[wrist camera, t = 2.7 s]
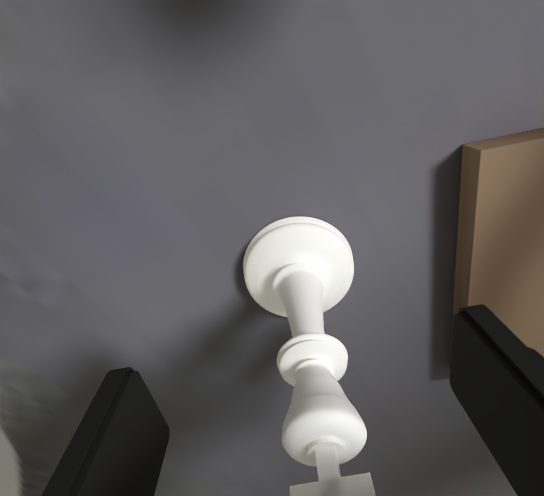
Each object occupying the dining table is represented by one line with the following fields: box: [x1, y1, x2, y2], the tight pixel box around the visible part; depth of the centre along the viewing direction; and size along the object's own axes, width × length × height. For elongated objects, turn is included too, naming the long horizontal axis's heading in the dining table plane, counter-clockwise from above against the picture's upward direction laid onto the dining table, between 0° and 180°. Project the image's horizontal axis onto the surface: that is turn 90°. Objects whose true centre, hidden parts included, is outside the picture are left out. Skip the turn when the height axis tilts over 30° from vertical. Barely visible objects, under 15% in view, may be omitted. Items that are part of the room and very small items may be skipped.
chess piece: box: [243, 217, 376, 496], centre depth 10 cm, size 5×5×10 cm
